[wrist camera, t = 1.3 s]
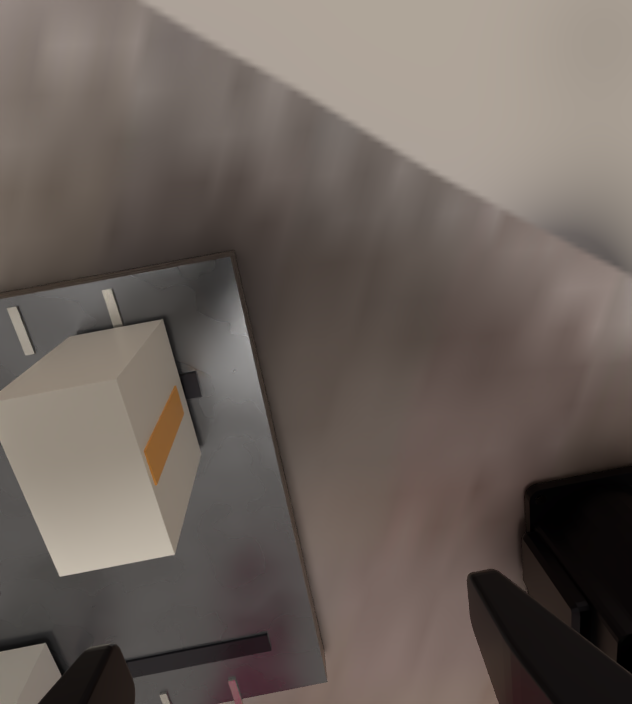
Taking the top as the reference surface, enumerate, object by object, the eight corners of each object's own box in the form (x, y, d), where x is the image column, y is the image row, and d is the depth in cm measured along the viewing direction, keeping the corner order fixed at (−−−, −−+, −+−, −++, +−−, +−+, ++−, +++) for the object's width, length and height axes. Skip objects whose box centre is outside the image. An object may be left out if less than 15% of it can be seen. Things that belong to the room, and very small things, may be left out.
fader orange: (164, 318, 16) (118, 378, 11) (202, 453, 18) (176, 554, 13) (67, 336, 16) (-19, 404, 11) (115, 470, 18) (57, 577, 13)
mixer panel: (231, 238, 17) (227, 244, 16) (325, 656, 24) (328, 688, 22) (-270, 329, 17) (-323, 345, 15) (-33, 726, 24) (-54, 764, 22)
